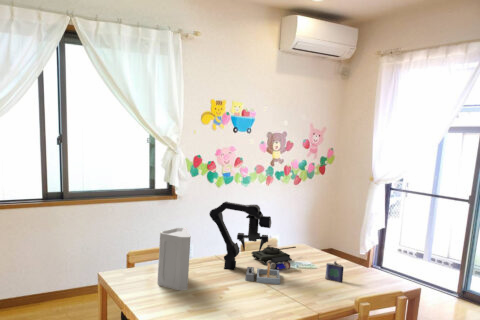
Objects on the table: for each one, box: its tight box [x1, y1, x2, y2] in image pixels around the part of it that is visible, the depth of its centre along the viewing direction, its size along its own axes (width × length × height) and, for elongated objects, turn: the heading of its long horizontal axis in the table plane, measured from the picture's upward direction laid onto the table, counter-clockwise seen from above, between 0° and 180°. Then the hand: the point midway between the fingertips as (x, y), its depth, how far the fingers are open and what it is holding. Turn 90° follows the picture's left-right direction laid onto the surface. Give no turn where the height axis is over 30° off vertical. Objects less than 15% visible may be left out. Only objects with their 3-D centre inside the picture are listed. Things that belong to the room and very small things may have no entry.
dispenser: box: [244, 266, 255, 282], centre depth 200 cm, size 5×12×5 cm, turn 176°
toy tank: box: [251, 244, 297, 265], centre depth 234 cm, size 12×34×10 cm, turn 121°
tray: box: [256, 268, 281, 285], centre depth 199 cm, size 13×14×3 cm
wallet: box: [324, 260, 344, 283], centre depth 204 cm, size 10×3×12 cm, turn 65°
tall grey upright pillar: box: [156, 226, 191, 291], centre depth 185 cm, size 19×15×28 cm
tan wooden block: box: [266, 263, 271, 278], centre depth 199 cm, size 1×6×8 cm, turn 177°
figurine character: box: [267, 256, 293, 270], centre depth 216 cm, size 7×8×15 cm
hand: (251, 251), depth 207 cm, fingers open, 9 cm apart
